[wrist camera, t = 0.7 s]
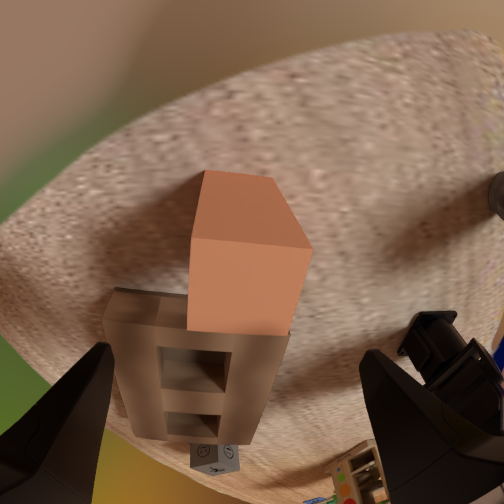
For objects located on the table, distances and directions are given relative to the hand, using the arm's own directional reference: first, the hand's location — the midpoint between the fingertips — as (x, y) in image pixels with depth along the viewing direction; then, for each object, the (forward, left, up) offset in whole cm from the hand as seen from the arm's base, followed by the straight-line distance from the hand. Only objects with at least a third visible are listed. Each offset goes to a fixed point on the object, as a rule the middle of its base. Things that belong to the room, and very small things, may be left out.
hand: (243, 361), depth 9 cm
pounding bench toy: (-35, +45, -13) cm, 59 cm away
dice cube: (-1, +35, -13) cm, 38 cm away
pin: (0, -1, -13) cm, 13 cm away
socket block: (+2, +17, -13) cm, 22 cm away
